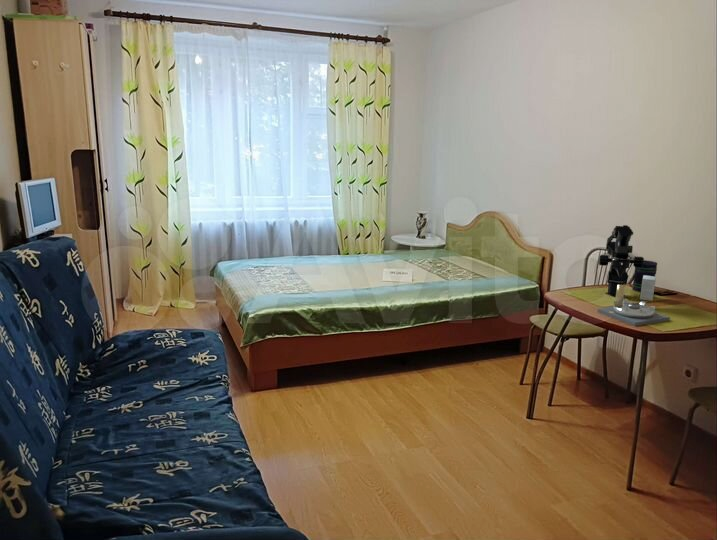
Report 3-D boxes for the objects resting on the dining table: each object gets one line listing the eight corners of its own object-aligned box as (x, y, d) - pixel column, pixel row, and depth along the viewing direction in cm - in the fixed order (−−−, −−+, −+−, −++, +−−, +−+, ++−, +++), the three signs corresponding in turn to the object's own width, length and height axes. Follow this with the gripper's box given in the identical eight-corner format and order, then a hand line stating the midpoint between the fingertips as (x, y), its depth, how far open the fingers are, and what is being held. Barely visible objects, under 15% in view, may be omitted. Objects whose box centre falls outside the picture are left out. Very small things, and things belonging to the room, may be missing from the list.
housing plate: (597, 312, 236) (597, 308, 236) (631, 307, 243) (631, 303, 243) (634, 326, 218) (634, 322, 218) (669, 320, 225) (670, 316, 225)
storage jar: (658, 292, 267) (662, 263, 264) (641, 293, 265) (645, 264, 262) (643, 287, 277) (647, 259, 273) (627, 288, 275) (631, 260, 271)
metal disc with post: (612, 314, 227) (615, 287, 224) (613, 305, 241) (616, 279, 238) (654, 320, 220) (658, 292, 217) (653, 310, 234) (657, 283, 231)
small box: (640, 295, 262) (643, 275, 260) (653, 297, 260) (656, 276, 257) (639, 299, 256) (642, 278, 253) (652, 301, 253) (655, 279, 250)
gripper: (600, 238, 249) (598, 266, 242) (645, 239, 241) (644, 268, 234) (600, 251, 258) (598, 278, 251) (643, 253, 250) (642, 281, 243)
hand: (620, 276), depth 245 cm, fingers closed
